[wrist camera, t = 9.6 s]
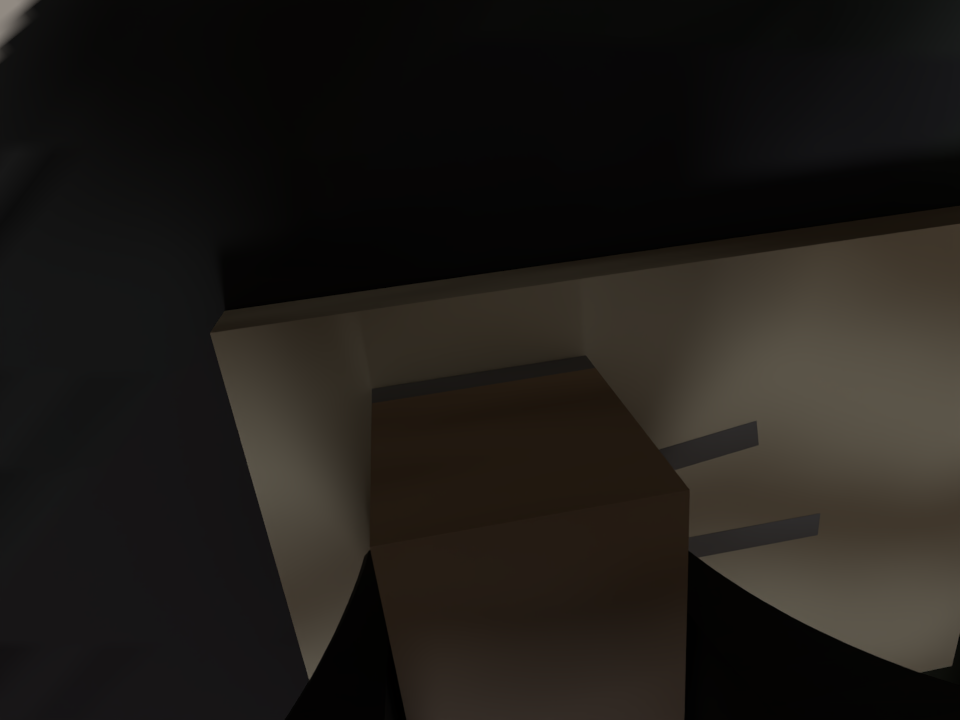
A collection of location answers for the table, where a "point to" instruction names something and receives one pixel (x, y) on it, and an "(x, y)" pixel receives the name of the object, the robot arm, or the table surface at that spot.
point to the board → (664, 411)
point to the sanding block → (528, 548)
